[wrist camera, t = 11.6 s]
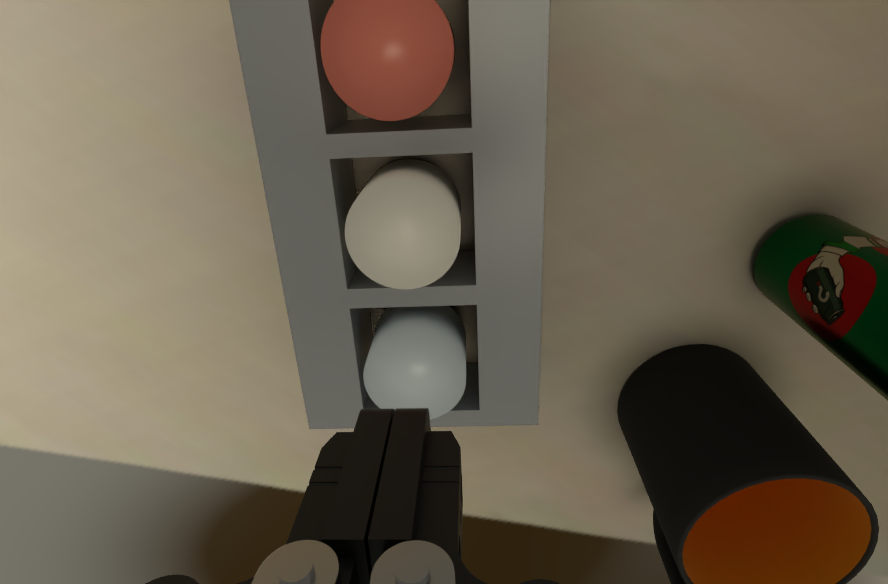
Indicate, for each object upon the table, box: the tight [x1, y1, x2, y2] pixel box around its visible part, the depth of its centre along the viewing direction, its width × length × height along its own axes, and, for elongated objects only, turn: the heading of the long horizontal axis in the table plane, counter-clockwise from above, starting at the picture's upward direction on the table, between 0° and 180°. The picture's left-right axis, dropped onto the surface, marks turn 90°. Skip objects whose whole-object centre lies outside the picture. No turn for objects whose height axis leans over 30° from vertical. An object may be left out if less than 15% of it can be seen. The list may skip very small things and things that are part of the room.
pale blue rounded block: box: [363, 306, 466, 420], centre depth 27 cm, size 5×5×4 cm
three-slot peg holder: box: [229, 0, 550, 429], centre depth 26 cm, size 12×22×4 cm, turn 3°
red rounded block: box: [320, 0, 455, 121], centre depth 22 cm, size 5×5×4 cm
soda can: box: [754, 215, 888, 400], centre depth 23 cm, size 5×5×12 cm
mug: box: [618, 345, 879, 584], centre depth 29 cm, size 8×12×10 cm
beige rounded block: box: [345, 159, 461, 289], centre depth 24 cm, size 5×5×4 cm
